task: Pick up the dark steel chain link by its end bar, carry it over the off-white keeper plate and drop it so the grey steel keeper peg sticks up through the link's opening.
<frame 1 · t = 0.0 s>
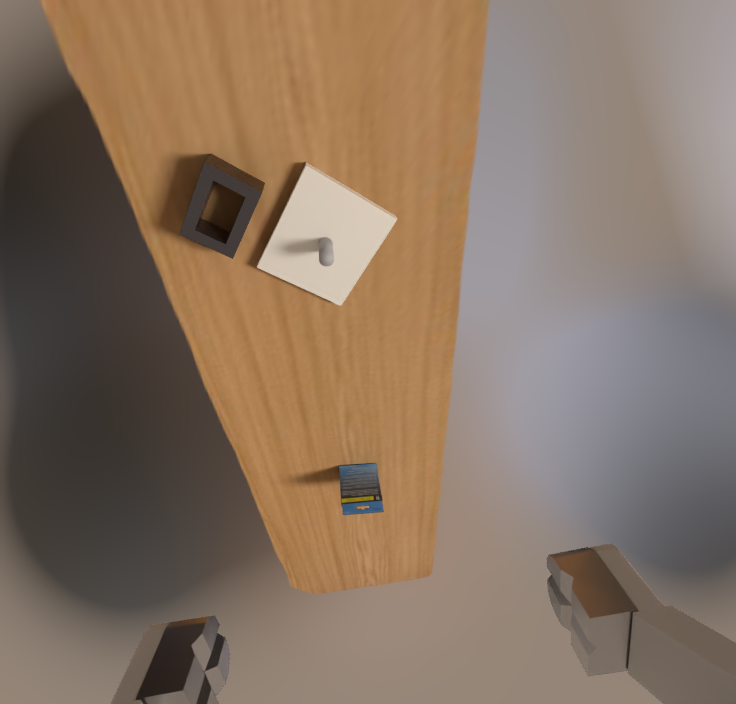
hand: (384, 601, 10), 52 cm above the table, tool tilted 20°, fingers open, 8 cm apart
label tape cartridge: (357, 467, 94), on the table
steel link: (225, 203, 53), on the table
keeper plate: (325, 239, 58), on the table
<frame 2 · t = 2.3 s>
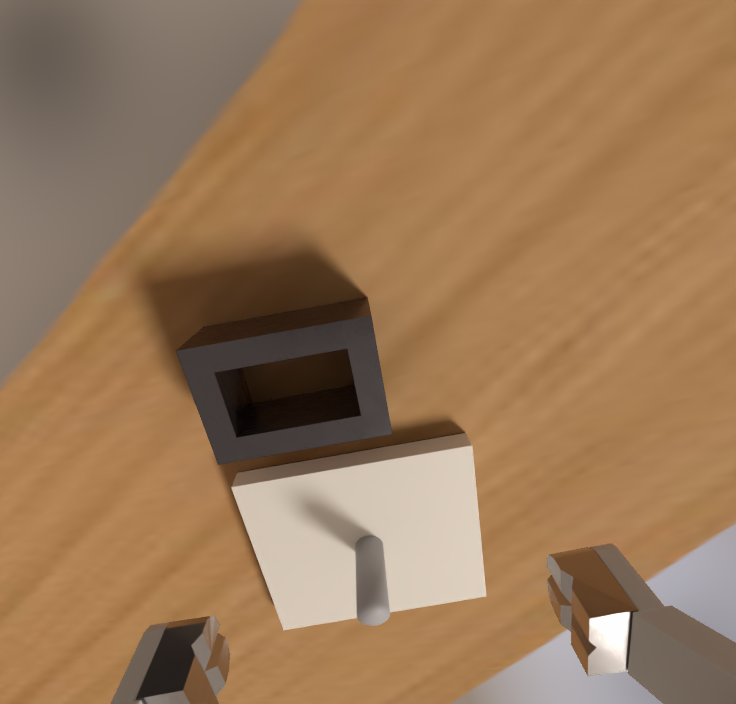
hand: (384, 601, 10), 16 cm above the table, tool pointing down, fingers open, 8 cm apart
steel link: (298, 365, 25), on the table
keeper plate: (368, 530, 30), on the table
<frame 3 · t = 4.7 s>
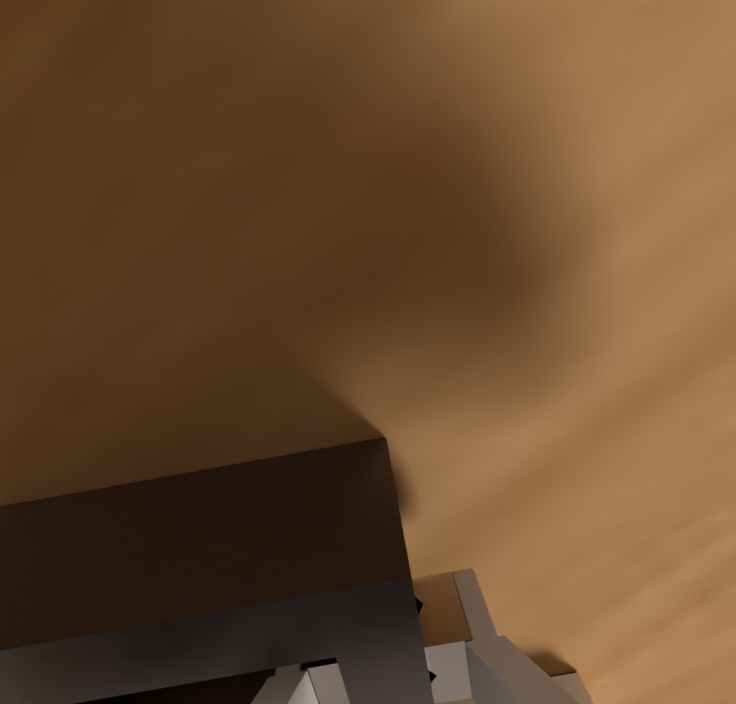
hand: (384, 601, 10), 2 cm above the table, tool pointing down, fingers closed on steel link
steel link: (230, 574, 11), on the table, touching gripper
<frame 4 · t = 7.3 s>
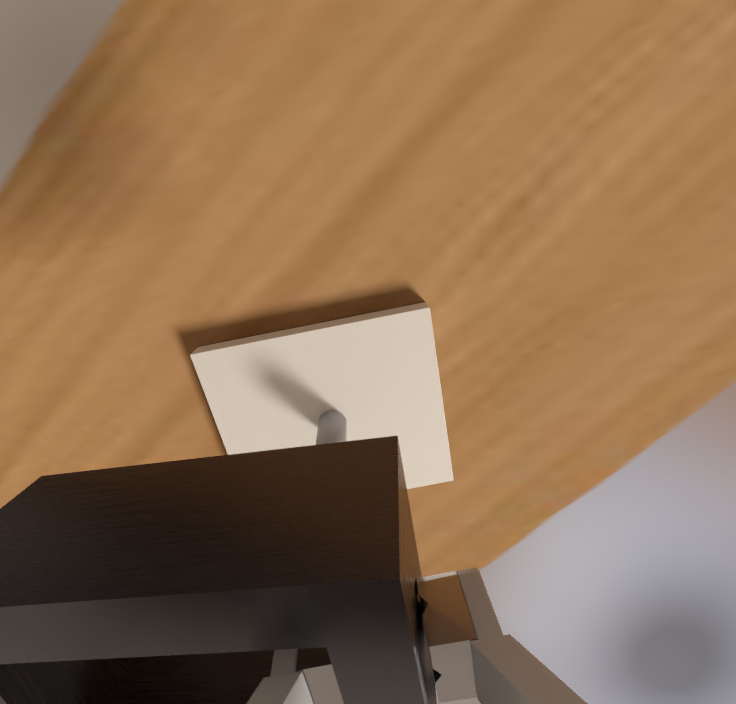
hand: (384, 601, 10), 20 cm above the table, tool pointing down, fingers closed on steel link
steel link: (246, 555, 12), point 17 cm above the table, tilted 6°, touching gripper
keeper plate: (333, 412, 30), on the table
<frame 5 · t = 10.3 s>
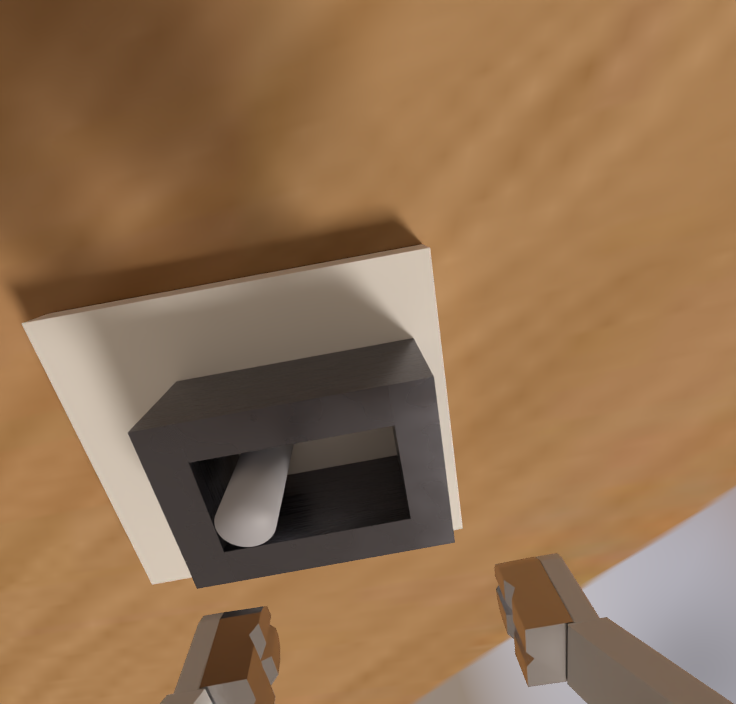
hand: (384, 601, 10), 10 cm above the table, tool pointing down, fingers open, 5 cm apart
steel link: (313, 431, 18), point 1 cm above the table, touching keeper plate
keeper plate: (276, 422, 19), on the table
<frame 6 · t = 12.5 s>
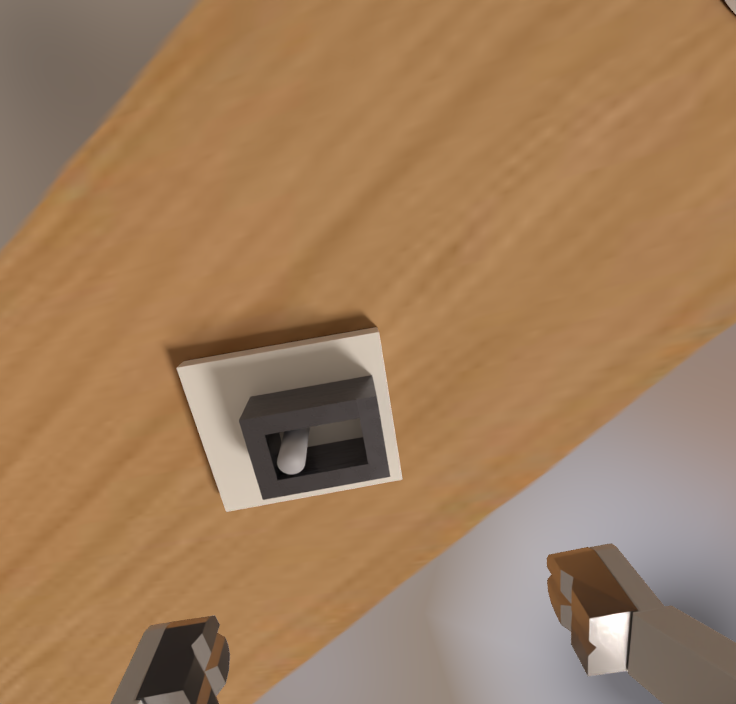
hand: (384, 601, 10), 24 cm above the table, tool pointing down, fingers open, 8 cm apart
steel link: (319, 423, 33), point 1 cm above the table, touching keeper plate
keeper plate: (299, 419, 35), on the table
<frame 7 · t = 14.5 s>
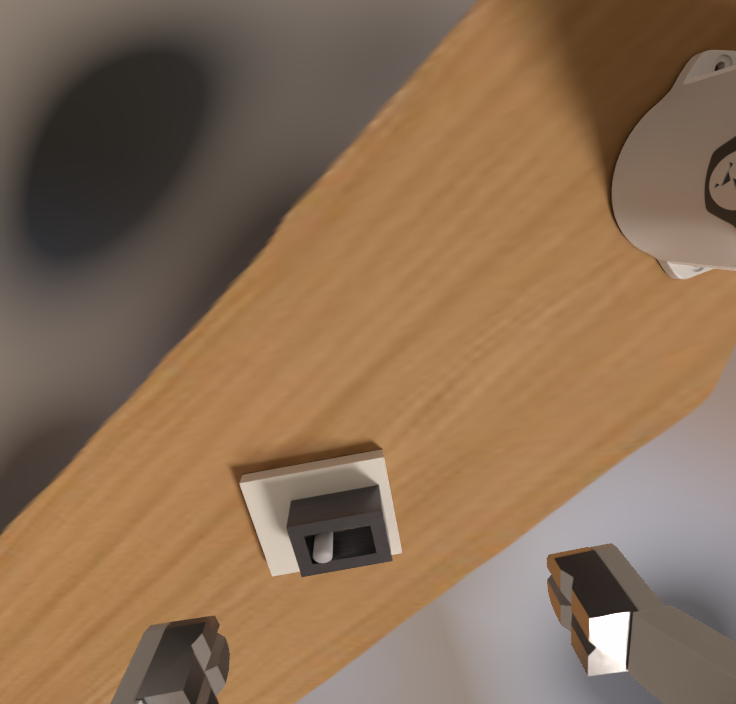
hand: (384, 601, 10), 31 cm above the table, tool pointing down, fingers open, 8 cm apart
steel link: (341, 516, 46), point 1 cm above the table, touching keeper plate
keeper plate: (325, 510, 47), on the table
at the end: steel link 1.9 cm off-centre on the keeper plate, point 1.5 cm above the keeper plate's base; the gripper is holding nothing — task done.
